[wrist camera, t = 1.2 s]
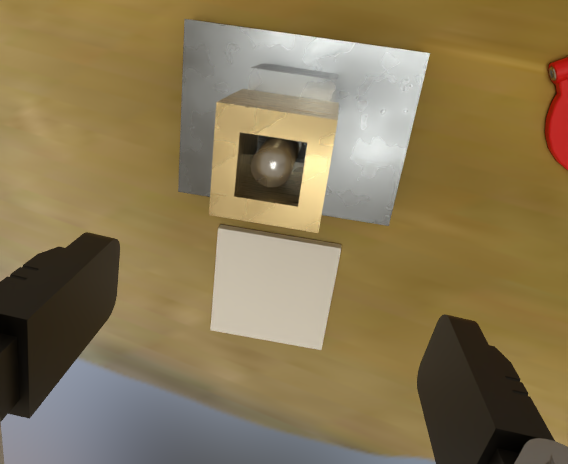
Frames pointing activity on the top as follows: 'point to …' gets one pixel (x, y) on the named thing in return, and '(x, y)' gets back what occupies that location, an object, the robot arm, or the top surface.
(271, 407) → the top surface
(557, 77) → the tow hook
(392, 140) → the gray base plate
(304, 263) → the pad
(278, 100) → the collar
